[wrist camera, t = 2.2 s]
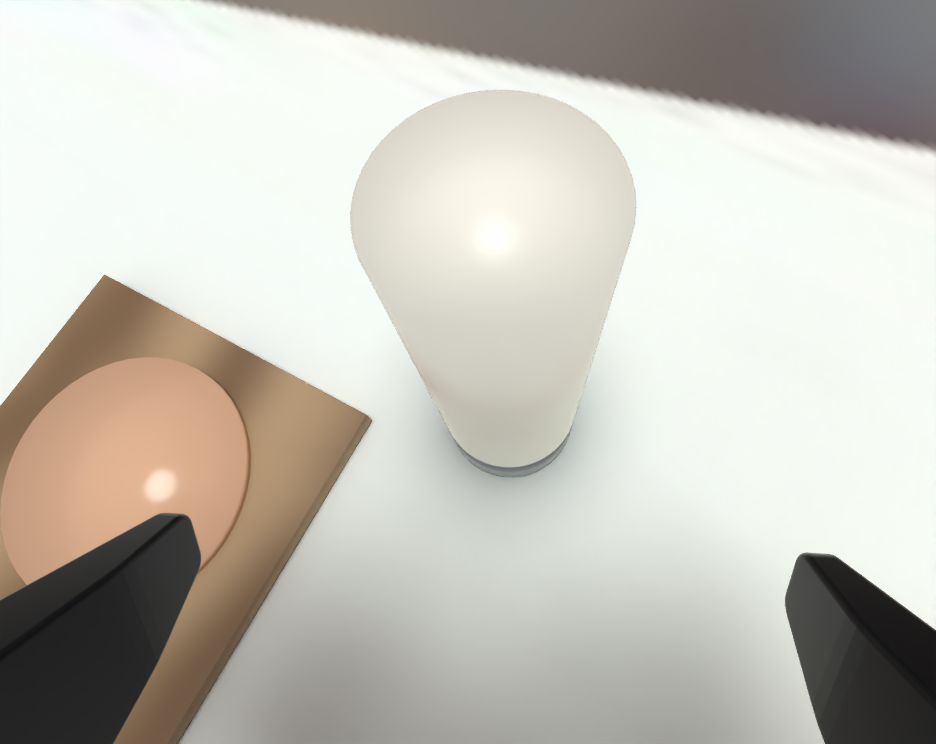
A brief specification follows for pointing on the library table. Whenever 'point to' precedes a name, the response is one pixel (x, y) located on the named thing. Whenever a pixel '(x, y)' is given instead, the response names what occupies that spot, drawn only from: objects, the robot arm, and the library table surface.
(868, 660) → the robot arm
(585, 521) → the library table surface
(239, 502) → the terracotta coaster
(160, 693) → the walnut board
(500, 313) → the frosted light bulb
